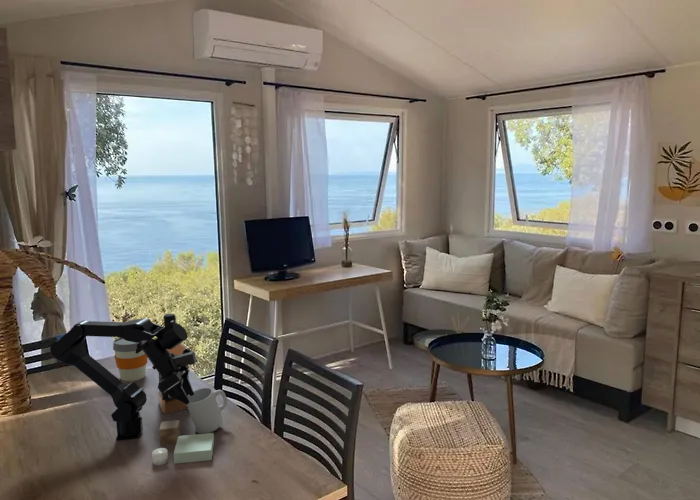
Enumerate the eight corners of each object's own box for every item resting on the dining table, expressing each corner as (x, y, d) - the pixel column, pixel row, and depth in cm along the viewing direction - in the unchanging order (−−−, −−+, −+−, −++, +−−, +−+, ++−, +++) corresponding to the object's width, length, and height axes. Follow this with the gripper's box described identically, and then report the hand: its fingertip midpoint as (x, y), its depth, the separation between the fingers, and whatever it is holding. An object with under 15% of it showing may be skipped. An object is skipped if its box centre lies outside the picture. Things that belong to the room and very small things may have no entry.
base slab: (174, 463, 152) (173, 453, 152) (179, 445, 162) (178, 436, 162) (211, 459, 154) (211, 449, 153) (214, 442, 164) (213, 432, 163)
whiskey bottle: (193, 407, 187) (187, 316, 182) (162, 414, 183) (155, 320, 178) (187, 396, 196) (181, 309, 191) (158, 402, 192) (151, 312, 187)
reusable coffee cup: (132, 385, 207) (129, 346, 205) (108, 379, 212) (105, 342, 210) (157, 373, 218) (154, 336, 216) (133, 368, 224) (130, 333, 221)
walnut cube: (160, 445, 163) (159, 429, 162) (163, 437, 167) (162, 421, 167) (178, 443, 163) (177, 427, 163) (180, 435, 168) (179, 420, 167)
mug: (203, 437, 166) (192, 406, 163) (191, 428, 173) (180, 398, 170) (237, 416, 173) (227, 386, 170) (225, 408, 180) (215, 379, 177)
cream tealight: (151, 466, 151) (150, 456, 151) (154, 458, 155) (153, 448, 155) (166, 464, 152) (166, 454, 151) (169, 457, 156) (168, 447, 155)
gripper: (177, 346, 156) (209, 391, 157) (188, 336, 174) (216, 376, 175) (143, 369, 154) (176, 414, 156) (157, 356, 173) (186, 397, 174)
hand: (190, 399), depth 165 cm, fingers open, 9 cm apart
